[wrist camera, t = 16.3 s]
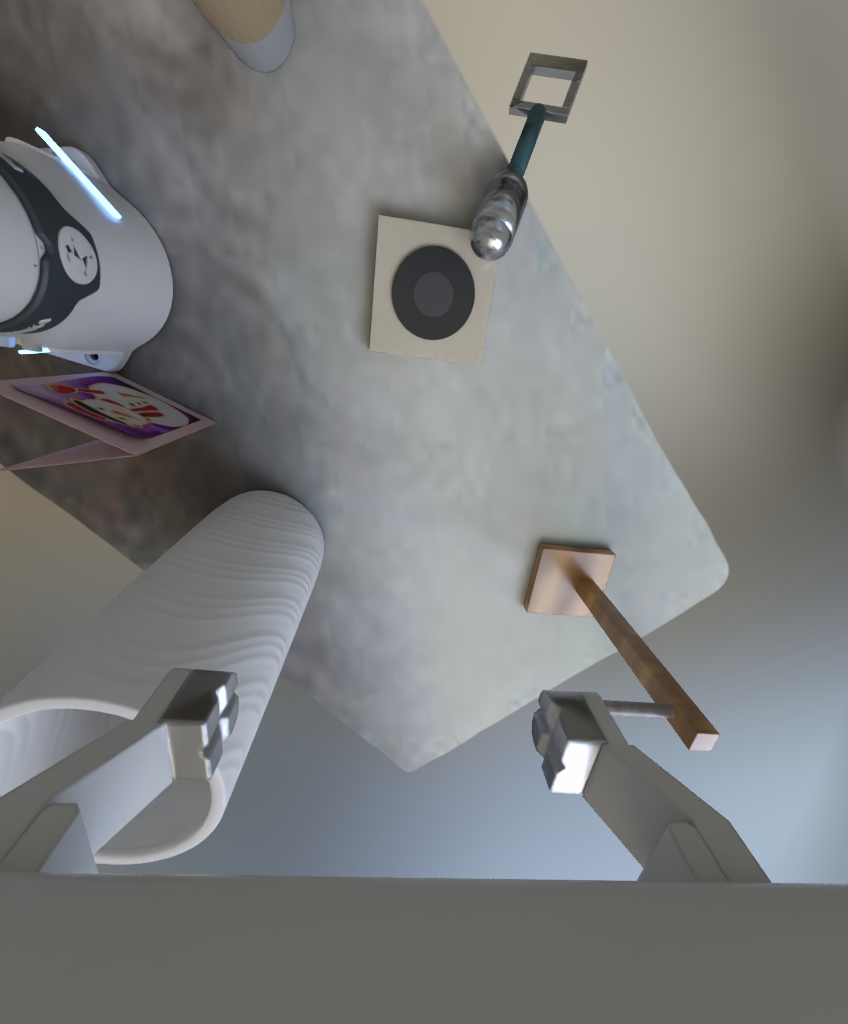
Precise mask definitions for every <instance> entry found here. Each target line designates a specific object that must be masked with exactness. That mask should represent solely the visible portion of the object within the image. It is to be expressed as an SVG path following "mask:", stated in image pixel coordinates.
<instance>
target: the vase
mask: <svg viewBox="0 0 848 1024" xmlns="http://www.w3.org/2000/svg"><path fill="white" fill-rule="evenodd" d="M323 554H324V539H323V534H322V531H321V528H320V526H319V524H318V522H317V521H316V519H315V517H314V516H313V515H312V514H311V513H310V511H309V510H308V509H307V508H305V507H304V506H303V505H302V504H301V503H299V502H298V501H296V500H295V499H292V498H290V497H288V496H286V495H283V494H280V493H277V492H272V491H260V490H258V491H249V492H245V493H242V494H239V495H237V496H235V497H233V498H231V499H229V500H228V501H226V502H225V503H223V504H222V505H220V506H219V507H218V508H216V509H215V510H214V511H213V512H211V513H210V514H209V515H208V516H206V517H205V518H204V519H203V520H202V521H201V522H200V523H198V524H197V525H196V526H195V527H194V528H193V529H192V530H190V531H189V532H188V533H187V534H186V535H185V536H184V537H183V538H181V539H180V540H179V541H178V542H177V543H176V544H175V545H174V546H172V547H171V548H170V549H169V550H168V551H167V552H166V553H165V554H163V555H162V556H161V557H160V558H159V559H158V560H157V561H156V562H154V563H153V564H152V565H151V566H150V567H149V568H148V569H147V570H145V571H144V572H143V573H142V574H141V575H140V576H139V577H137V578H136V579H135V580H134V581H133V582H132V583H131V584H130V585H128V586H127V587H126V588H125V589H124V590H123V591H122V592H121V593H119V594H118V595H117V596H116V597H115V598H114V599H113V600H112V601H110V602H109V603H108V604H107V605H106V606H105V607H104V608H103V609H102V610H100V611H99V612H98V613H97V614H96V615H95V616H94V617H93V618H91V619H90V620H89V621H88V622H87V623H86V624H85V625H84V626H82V627H81V628H80V629H79V630H78V631H77V632H76V633H75V634H74V635H72V636H71V637H70V638H69V639H68V640H67V641H66V642H65V643H64V644H63V645H61V646H60V647H59V648H58V649H57V650H56V651H55V652H53V653H52V654H51V655H50V656H49V657H48V658H47V659H46V660H45V661H43V662H42V663H41V664H40V665H39V666H38V667H37V668H36V669H35V670H34V671H32V672H31V673H30V674H29V675H28V676H27V677H26V678H25V679H24V680H22V681H21V682H20V683H19V684H18V685H17V686H16V687H15V688H13V689H12V690H11V691H10V692H9V693H8V694H7V695H6V696H5V697H3V698H2V699H1V700H0V797H1V796H3V795H5V794H6V793H8V792H10V791H11V790H13V789H15V788H16V787H18V786H19V785H21V784H23V783H24V782H26V781H28V780H29V779H31V778H33V777H34V776H36V775H38V774H39V773H41V772H43V771H44V770H46V769H48V768H49V767H51V766H53V765H54V764H56V763H57V762H59V761H61V760H62V759H64V758H66V757H67V756H69V755H71V754H72V753H74V752H76V751H77V750H79V749H81V748H82V747H84V746H86V745H87V744H89V743H91V742H92V741H94V740H96V739H97V738H99V737H100V736H102V735H104V734H105V733H107V732H109V731H110V730H112V729H114V728H115V727H117V726H119V725H120V724H122V723H124V722H125V721H127V722H132V721H133V719H134V718H135V717H136V715H137V714H138V713H139V711H140V710H141V709H142V707H143V706H144V704H145V703H146V702H147V700H148V699H149V698H150V696H151V695H152V693H153V692H154V691H155V689H156V688H157V687H158V685H159V684H160V682H161V681H162V680H163V678H164V677H165V676H166V674H167V673H168V672H169V671H170V670H172V669H173V668H186V669H203V670H215V671H226V672H235V673H237V680H238V684H237V686H236V689H235V691H234V692H235V693H236V695H237V696H238V697H239V709H238V716H237V719H236V723H235V727H234V729H233V731H232V734H231V736H230V737H229V738H228V739H227V740H225V741H224V742H223V743H222V751H223V754H222V756H221V758H220V761H219V763H218V765H217V767H216V770H215V772H214V774H213V776H212V778H211V780H172V783H171V784H170V785H169V786H168V787H167V788H166V789H164V790H163V791H162V792H161V793H160V794H159V795H158V796H157V797H156V798H155V799H154V800H152V801H151V802H150V803H149V804H148V805H147V806H146V807H145V808H144V809H143V810H142V811H140V812H139V813H138V814H137V815H136V816H135V817H134V818H133V819H132V820H131V821H130V822H128V823H127V824H126V825H125V826H124V827H123V828H122V829H121V830H120V831H119V832H117V833H116V834H115V835H114V836H113V837H112V838H111V839H110V840H109V841H108V842H107V843H105V844H104V845H103V846H102V847H101V848H100V849H99V850H98V851H97V852H96V853H95V854H93V857H94V860H95V863H102V864H137V863H145V862H152V861H156V860H161V859H165V858H169V857H172V856H174V855H177V854H180V853H183V852H184V851H186V850H188V849H190V848H192V847H194V846H196V845H197V844H199V843H200V842H201V841H203V840H204V839H205V838H206V837H207V836H208V835H209V834H210V833H211V832H212V831H213V830H214V829H215V828H216V826H217V824H218V823H219V821H220V819H221V818H222V816H223V813H224V811H225V808H226V806H227V803H228V801H229V798H230V796H231V793H232V791H233V788H234V786H235V783H236V781H237V778H238V776H239V774H240V771H241V768H242V766H243V763H244V761H245V759H246V756H247V754H248V751H249V748H250V746H251V744H252V741H253V739H254V736H255V734H256V731H257V729H258V726H259V724H260V721H261V719H262V716H263V714H264V711H265V708H266V706H267V703H268V701H269V698H270V696H271V693H272V691H273V688H274V686H275V683H276V681H277V678H278V676H279V673H280V671H281V668H282V666H283V663H284V661H285V658H286V655H287V653H288V650H289V648H290V645H291V643H292V640H293V638H294V635H295V632H296V630H297V627H298V625H299V622H300V620H301V617H302V615H303V612H304V610H305V607H306V605H307V602H308V600H309V597H310V594H311V592H312V589H313V587H314V584H315V581H316V578H317V575H318V572H319V569H320V566H321V563H322V559H323Z"/></svg>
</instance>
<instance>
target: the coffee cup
mask: <svg viewBox="0 0 848 1024" xmlns="http://www.w3.org/2000/svg"><path fill="white" fill-rule="evenodd" d="M192 2H193V3H194V4H195V6H196V7H197V8H198V9H199V11H200V12H201V13H202V15H203V16H204V17H205V18H206V20H207V21H208V22H209V23H210V24H211V25H212V26H213V27H214V28H215V29H216V30H217V31H218V32H219V33H220V35H221V36H222V37H223V39H224V40H225V41H226V43H227V44H228V45H229V46H230V48H231V49H232V50H233V52H234V53H235V54H236V55H237V56H238V58H239V59H240V60H241V61H242V62H244V63H245V64H246V65H247V66H249V67H250V68H252V69H254V70H256V71H259V72H270V71H273V70H275V69H277V68H279V67H280V66H281V65H282V64H283V63H284V61H285V60H286V58H287V57H288V55H289V53H290V51H291V48H292V45H293V41H294V33H295V32H294V19H293V14H292V9H291V4H290V0H192Z"/></svg>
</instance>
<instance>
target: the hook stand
mask: <svg viewBox="0 0 848 1024" xmlns="http://www.w3.org/2000/svg"><path fill="white" fill-rule="evenodd" d="M615 557H616V555H615V554H614V553H613V552H612V551H611V550H604V549H593V548H582V547H571V546H560V545H549V544H540V545H539V549H538V553H537V557H536V561H535V565H534V569H533V573H532V576H531V580H530V584H529V588H528V592H527V596H526V600H525V604H524V607H525V610H526V612H530V613H543V614H556V615H570V616H583V617H594V618H595V619H596V620H597V622H598V623H599V625H600V626H601V627H602V629H603V630H604V632H605V633H606V634H607V636H608V637H609V639H610V640H611V641H612V643H613V644H614V646H615V647H616V648H617V650H618V651H619V653H620V654H621V656H622V657H623V658H624V659H625V661H626V662H627V664H628V665H629V667H630V668H631V669H632V671H633V672H634V674H635V675H636V676H637V678H638V679H639V681H640V682H641V684H642V685H643V686H644V688H645V689H646V690H647V692H648V693H649V695H650V696H651V698H652V699H653V700H654V702H655V703H645V702H627V701H609V700H603V702H604V703H605V705H606V707H607V709H608V710H609V712H610V714H611V716H625V717H645V718H664V719H667V720H668V721H669V723H670V724H671V726H672V727H673V729H674V730H675V731H676V733H677V734H678V736H679V737H680V738H681V740H682V741H683V743H684V744H685V745H686V747H687V748H688V749H689V750H700V751H711V749H712V747H713V746H714V744H715V742H716V740H717V738H718V736H719V733H718V732H717V730H716V729H715V728H714V727H713V725H712V724H711V723H710V722H709V721H708V719H707V718H706V717H705V716H704V714H703V713H702V712H701V711H700V710H699V708H698V707H697V706H696V705H695V703H694V702H693V701H692V700H691V699H690V698H689V696H688V695H687V694H686V693H685V692H684V690H683V689H682V688H681V686H680V685H679V684H678V683H677V682H676V680H675V679H674V678H673V677H672V675H671V674H670V673H669V672H668V671H667V669H666V668H665V667H664V666H663V664H662V663H661V662H660V661H659V660H658V658H657V657H656V656H655V655H654V654H653V652H652V651H651V650H650V649H649V647H648V646H647V645H646V644H645V643H644V641H643V640H642V639H641V638H640V636H639V635H638V634H637V633H636V632H635V630H634V629H633V628H632V627H631V625H630V624H629V623H628V622H627V621H626V619H625V618H624V617H623V616H622V615H621V613H620V612H619V611H618V610H617V608H616V607H615V606H614V605H613V604H612V602H611V601H610V600H609V599H608V597H607V596H606V595H605V594H604V593H603V592H604V589H605V586H606V584H607V581H608V578H609V575H610V572H611V569H612V566H613V563H614V560H615Z"/></svg>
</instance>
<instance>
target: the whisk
mask: <svg viewBox="0 0 848 1024" xmlns="http://www.w3.org/2000/svg"><path fill="white" fill-rule="evenodd" d="M587 63H588V61H587V60H582V59H575V58H568V57H561V56H554V55H547V54H539V53H532V52H531V53H530V54H529V57H528V59H527V62H526V64H525V67H524V69H523V72H522V75H521V77H520V80H519V82H518V85H517V87H516V90H515V93H514V95H513V98H512V101H511V103H510V105H509V114H510V115H515V116H522V117H527V120H526V122H525V125H524V127H523V130H522V133H521V136H520V138H519V140H518V143H517V146H516V148H515V151H514V153H513V156H512V159H511V161H510V164H509V166H508V169H507V170H504V171H501V172H499V173H498V174H496V175H495V176H494V177H493V178H492V179H491V180H490V182H489V183H488V185H487V187H486V190H485V192H484V195H483V197H482V200H481V202H480V205H479V208H478V210H477V213H476V215H475V218H474V220H473V223H472V225H471V229H470V234H469V241H470V246H471V249H472V251H473V252H474V254H475V255H476V256H477V257H478V258H480V259H481V260H484V261H495V260H498V259H500V258H501V257H503V256H504V255H505V254H506V253H507V251H508V250H509V248H510V246H511V244H512V241H513V239H514V236H515V233H516V231H517V228H518V225H519V223H520V220H521V217H522V215H523V212H524V209H525V207H526V203H527V199H528V190H527V185H526V182H525V180H524V179H523V176H524V173H525V170H526V168H527V165H528V162H529V160H530V157H531V154H532V152H533V149H534V147H535V144H536V141H537V139H538V136H539V133H540V131H541V128H542V125H543V123H544V120H545V121H551V122H558V123H563V124H566V122H567V119H568V116H569V114H570V111H571V108H572V106H573V103H574V101H575V98H576V95H577V93H578V90H579V87H580V85H581V82H582V79H583V77H584V74H585V71H586V67H587ZM532 75H537V76H544V77H550V78H558V79H564V80H571V84H570V87H569V89H568V92H567V95H566V97H565V100H564V103H563V106H562V107H558V106H552V105H545V104H542V103H534V102H527V101H522V100H523V98H524V95H525V92H526V90H527V87H528V85H529V82H530V80H531V77H532Z"/></svg>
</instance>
